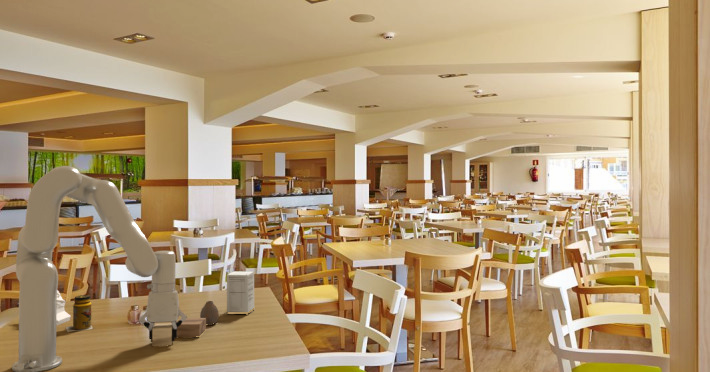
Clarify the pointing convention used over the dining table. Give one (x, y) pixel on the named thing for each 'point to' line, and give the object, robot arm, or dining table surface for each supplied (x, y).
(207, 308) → the vase
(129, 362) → the dining table surface
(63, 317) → the white faceted lump
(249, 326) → the dining table surface
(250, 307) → the supplement box
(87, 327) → the condiment
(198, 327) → the walnut block
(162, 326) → the oak cube
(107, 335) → the dining table surface
